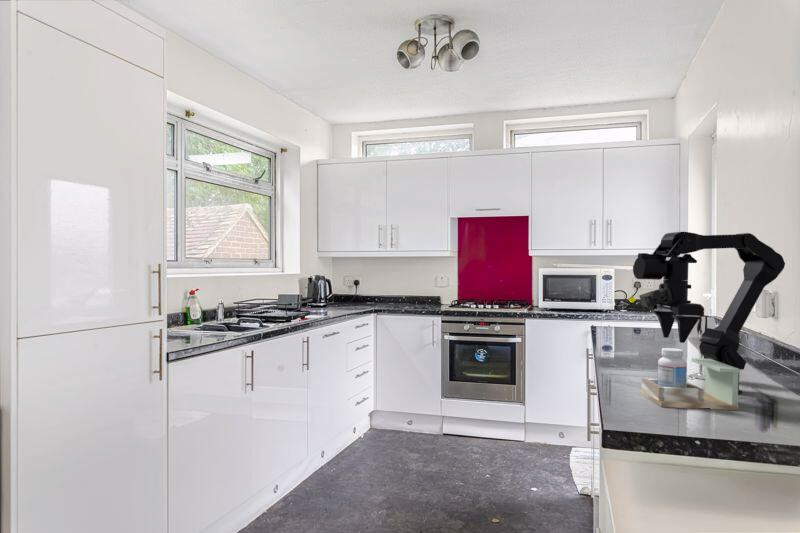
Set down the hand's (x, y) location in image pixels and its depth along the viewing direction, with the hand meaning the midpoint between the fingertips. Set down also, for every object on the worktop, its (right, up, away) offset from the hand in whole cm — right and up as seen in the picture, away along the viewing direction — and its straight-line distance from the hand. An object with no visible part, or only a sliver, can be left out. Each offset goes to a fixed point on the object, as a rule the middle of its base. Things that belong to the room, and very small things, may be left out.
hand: (673, 339), depth 139 cm
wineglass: (+17, -14, +17) cm, 28 cm away
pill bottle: (-6, -12, -11) cm, 18 cm away
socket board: (-3, -13, -12) cm, 18 cm away
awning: (+3, -13, -12) cm, 18 cm away
